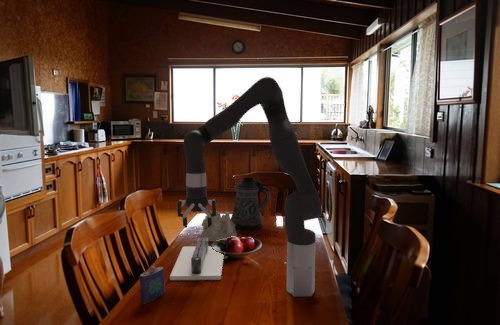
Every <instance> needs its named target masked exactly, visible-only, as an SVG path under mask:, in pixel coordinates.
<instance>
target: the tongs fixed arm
mask: <svg viewBox="0 0 500 325" xmlns="http://www.w3.org/2000/svg"><path fill="white" fill-rule="evenodd" d="M208 246H209V241H208V238H207V237H203V240H202V244H201V247H200V250H199V253H198V257H193V258H191V272H192V273H193V274H199V273H201V271H202V267H203V263H204V259H205V255H206V251H207V250H208Z"/></svg>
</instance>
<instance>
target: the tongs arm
mask: <svg viewBox="0 0 500 325" xmlns="http://www.w3.org/2000/svg"><path fill="white" fill-rule="evenodd" d="M202 240H203V237H202V236H201V237H198V238H197V241H196V242H197V243H196V245H195V246H196V248H195V251H194V254H193V256H192V258H193V257H198V253H199V250H200V247H201V244H202Z"/></svg>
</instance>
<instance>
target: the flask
mask: <svg viewBox="0 0 500 325" xmlns="http://www.w3.org/2000/svg"><path fill="white" fill-rule="evenodd" d="M139 290H140V304H142V305H145V304H149V303H151V302H154V301H155V300H157V299H159V298H161V297H163V296H164V295H165V294H166V293H165V292H166V288H165V267H163V266H158V267H157V266H154V265H150V269H149V270H148V271H146V272H144V271H143V273H140V275H139Z"/></svg>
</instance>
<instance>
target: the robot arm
mask: <svg viewBox="0 0 500 325" xmlns="http://www.w3.org/2000/svg"><path fill="white" fill-rule="evenodd" d="M259 105H260V107H261V109H262V110H263V112H264V115H265V117H266V120H267V124H268V131H269V143H270V147H271V149H272V153H273V155H274V159H275V161H276V163H277V164H278V166H280V168H282V170H283V171H284V172H285V173H286V174H287V175H289V177H290V178H291V180H292V181H293V182H294V184H295V187H296V189H297V191H298V192H294V193H290V194H289V195H287V197H286V198H285V201H284V227H285V228H284V229H285V234H286V243H287V244H286V291H287V293H289V294H290V295H292V297H312V296H313V294H314V293H315V286H316V282H315V281H316V280H315V277H316V276H315V275H316V241H317V240H316V233H315V232H314V231H313V230H312V229H309V228H305V221H309V220H311V221H312V220H314V219H317V218H319V217H320V216H321V214H322V211H323V210H322V202H321V198H320V196H319V193H318V191H317V188H316V186H315V184H314V182H313V180H312V177H311V176H310V173H309V171H308V167H307V164H306V162H305V158H304V156H303V152H302V149H301V146H300V143H299V140H298V137H297V134H296V132H295V129H294V127H293V125H292V123H291V121H290V119H289V116H288V113H287V109H286V108H287V107H286V105H285V100H284V95H283V91H282V89H281V87H280V85H279V84H278V82H277V81H276V79H274V78H273V77H270V76H265V77H262V78H260V79H258V80H257V81H256V82H254V84H253V85H251V86H250V87H249V88H248V89H247V90H246V91H244V92H243V93H242V94H241V95H240V96H239V97H238V98H237V99H236V100H234V101H233V102H232V103H230V105H228V106H227V107H225V108H224V109H222V110H221V111H220V112H218V113H217V114H215V115H213V116H212V117H211V118H209V119H208V120H207V121H205V123H204V124H202V125H201V126H199V127H197V128H196V129H194V130H191V131H188V132H187V133H186V134H185V136H184V137H183V138H184V139H183V150H184V155H185V160H186V162H185V164H186V166H185V167H186V169H185V170H186V174H185V175H186V176H185V186H186V187H185V190H186V192H185V193H186V195H185V196H186V199H185V200H182V199H179V200H178V201H177V217H179V218H182V226H183V227H184V228H185V229H187V228H188V217H187V216H188V215H189V214H190V212H192V213H196V212H198V213H199V212H200V213H201V212H203V213H204V214H205V216H208V218H207V220H208V227H210V226H211V224H212V217H213V216H216V211H217V205H216V204H217V203H216V199H215V198H213V199H208V192H207V191H208V190H207V189H208V187H207V186H208V181H207V174H206V172H207V171H206V159H205V157H204V147H206V146H207V145H208V144H209V143H211V142H212V141H214V139H216V138H218V137H221V135H223V134H225V133H226V132H228V131H229V130H231V129H233V127H235V126H236V125H237V124H238V123H239V121H240V120H241V119H242V118H243V117H244V116H245V114H247V112H249V111H250V110H251V109H253V108H254V107H256V106H259ZM208 204H209V205H210V206H211V209H212V210H211V211H212V212H210V210H209V209H208V207H207V205H208ZM184 205H186V206H187V209H186V210H185V211H184V213H183V207H184Z"/></svg>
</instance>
